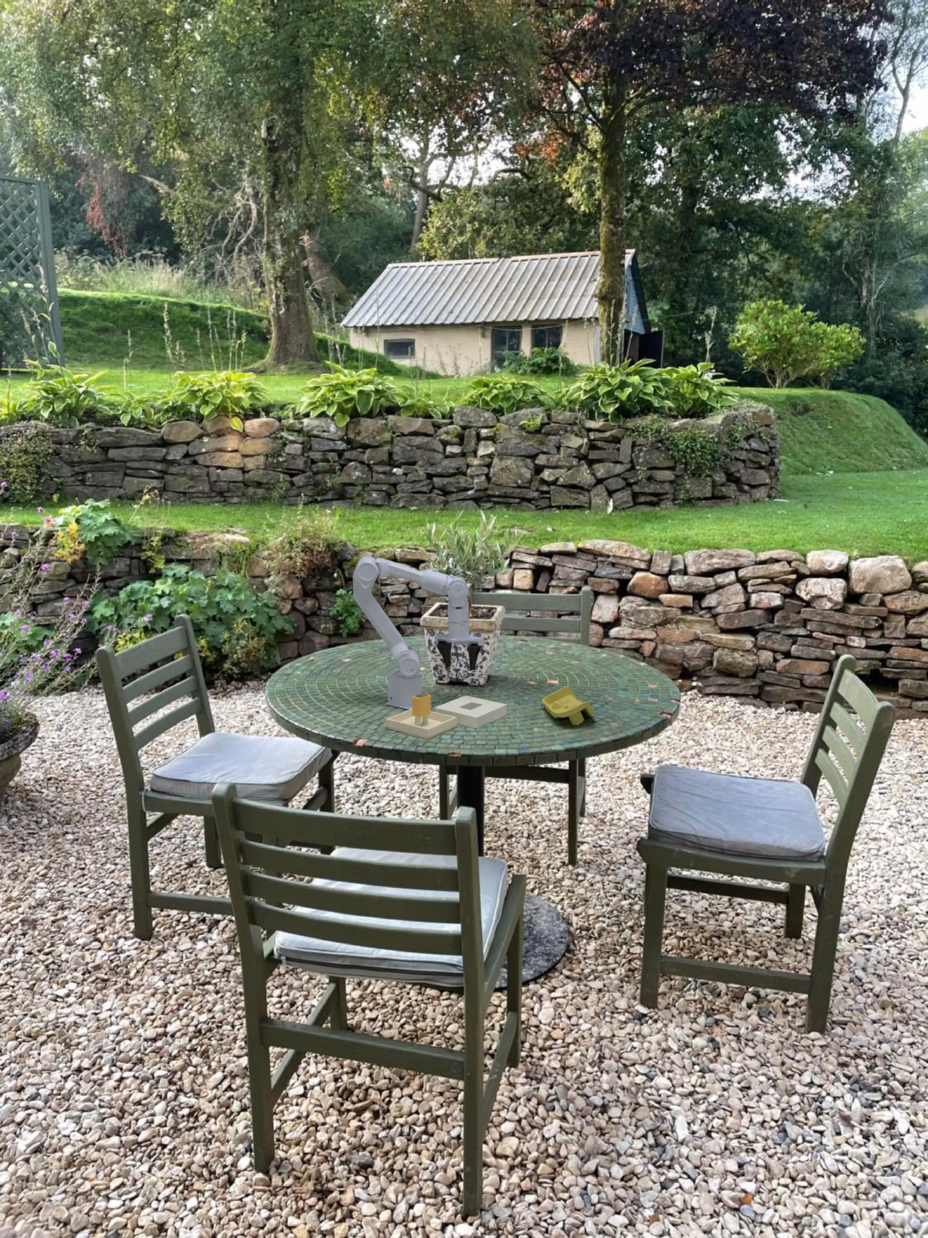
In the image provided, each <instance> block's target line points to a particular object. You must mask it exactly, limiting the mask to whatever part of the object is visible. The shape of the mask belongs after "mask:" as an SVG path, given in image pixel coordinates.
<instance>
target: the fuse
mask: <svg viewBox="0 0 928 1238" xmlns="http://www.w3.org/2000/svg"><path fill="white" fill-rule="evenodd" d="M431 699H432V697H431V694H429V693H424V692H422V693H421V694H418V695H415V696H413V697H412V716H415V726H419V727H421V717H422V724H424V725H426V724H428V714H430V713H431V711H432V710H431V709H432V708H431V707H432V706H431V704H432V703H431V702H432V701H431Z"/></svg>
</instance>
